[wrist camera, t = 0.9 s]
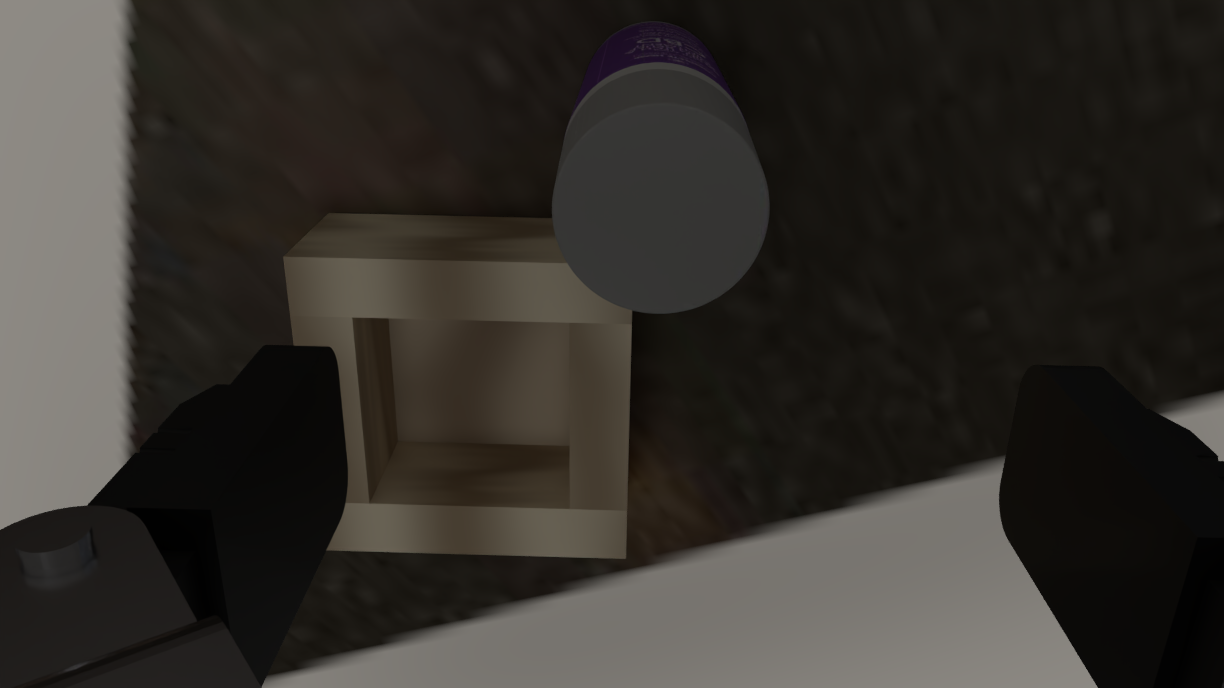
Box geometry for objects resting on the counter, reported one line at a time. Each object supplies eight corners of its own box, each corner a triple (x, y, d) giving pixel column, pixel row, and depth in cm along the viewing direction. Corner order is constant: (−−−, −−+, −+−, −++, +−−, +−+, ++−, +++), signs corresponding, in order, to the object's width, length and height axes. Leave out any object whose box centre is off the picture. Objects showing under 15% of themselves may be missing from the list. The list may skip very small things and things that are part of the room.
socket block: (634, 219, 36) (633, 264, 31) (627, 485, 40) (625, 558, 36) (328, 212, 36) (283, 256, 32) (354, 477, 40) (317, 549, 36)
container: (704, 3, 33) (750, 68, 19) (734, 141, 35) (796, 291, 21) (567, 41, 34) (517, 129, 20) (603, 174, 35) (579, 342, 22)
